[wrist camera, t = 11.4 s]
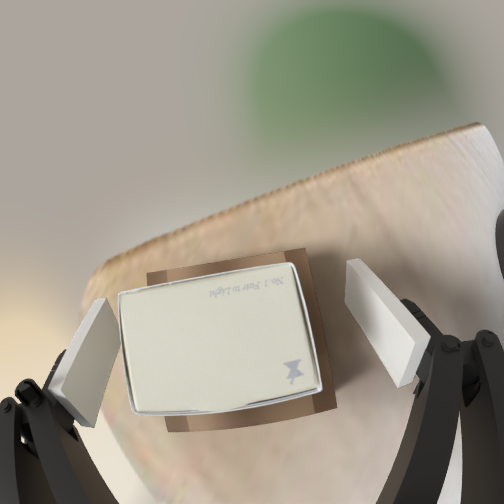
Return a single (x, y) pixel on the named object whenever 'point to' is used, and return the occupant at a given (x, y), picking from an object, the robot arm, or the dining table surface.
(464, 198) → the dining table surface
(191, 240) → the dining table surface
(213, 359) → the skincare box
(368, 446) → the dining table surface
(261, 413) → the holder
